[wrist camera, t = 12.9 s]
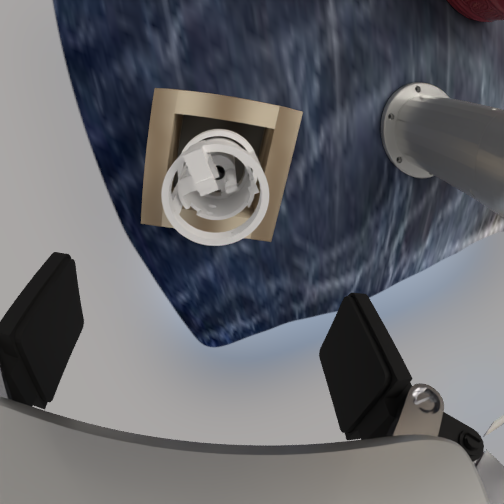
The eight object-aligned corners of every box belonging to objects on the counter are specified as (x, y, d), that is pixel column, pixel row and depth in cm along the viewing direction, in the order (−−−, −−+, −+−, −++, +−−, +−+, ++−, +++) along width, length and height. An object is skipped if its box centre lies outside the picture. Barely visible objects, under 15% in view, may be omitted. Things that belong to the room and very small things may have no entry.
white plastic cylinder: (239, 113, 30) (248, 129, 17) (261, 173, 33) (285, 232, 20) (176, 138, 31) (139, 175, 17) (201, 195, 34) (187, 267, 21)
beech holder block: (287, 107, 31) (302, 112, 25) (263, 214, 37) (271, 241, 31) (169, 88, 29) (154, 88, 23) (155, 198, 35) (140, 223, 29)
